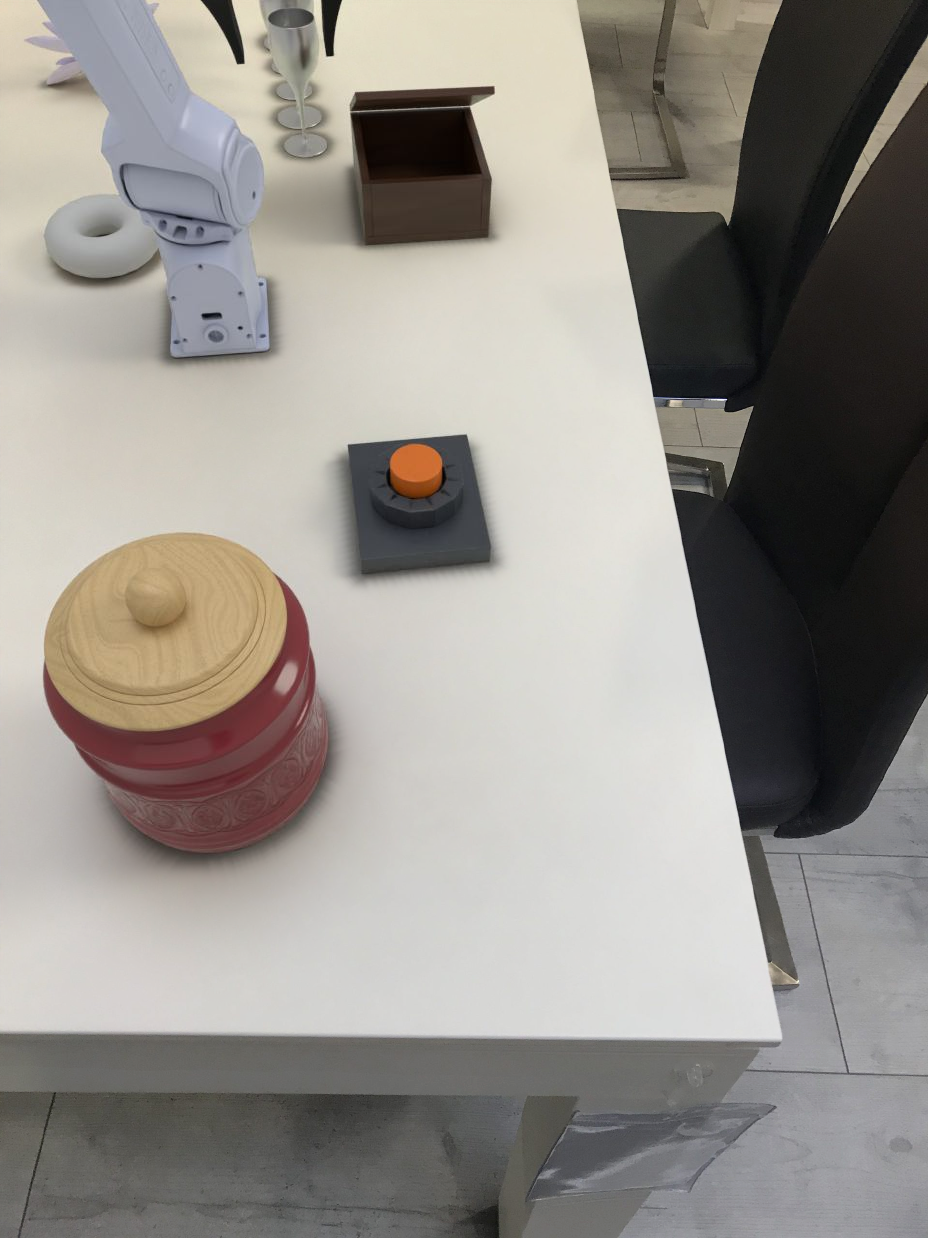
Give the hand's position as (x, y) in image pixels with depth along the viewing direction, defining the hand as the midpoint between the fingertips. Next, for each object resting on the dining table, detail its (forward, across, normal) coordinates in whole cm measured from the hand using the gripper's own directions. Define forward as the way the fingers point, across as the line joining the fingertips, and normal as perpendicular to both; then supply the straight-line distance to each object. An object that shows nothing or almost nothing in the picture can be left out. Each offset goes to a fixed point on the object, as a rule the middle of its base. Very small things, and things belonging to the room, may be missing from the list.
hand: (284, 53), depth 79 cm
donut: (+11, +18, +10) cm, 23 cm away
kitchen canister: (+6, +8, +61) cm, 62 cm away
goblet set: (+15, 0, -18) cm, 23 cm away
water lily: (+14, +20, -22) cm, 33 cm away
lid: (+3, -11, +3) cm, 12 cm away
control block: (+8, -6, +44) cm, 45 cm away
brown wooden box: (+12, -11, +5) cm, 17 cm away
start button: (+5, -6, +43) cm, 44 cm away
